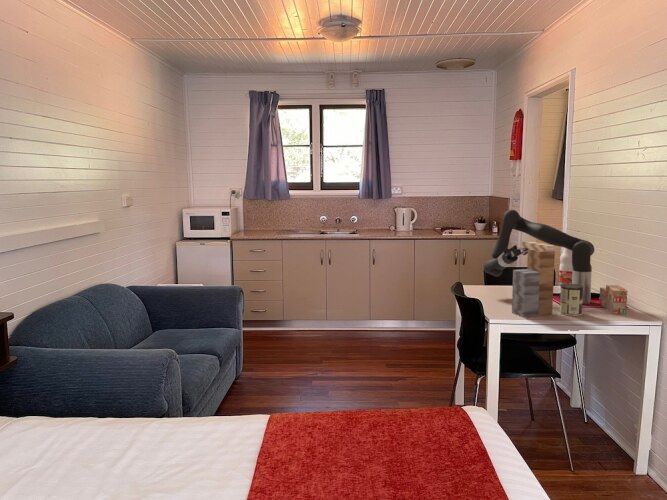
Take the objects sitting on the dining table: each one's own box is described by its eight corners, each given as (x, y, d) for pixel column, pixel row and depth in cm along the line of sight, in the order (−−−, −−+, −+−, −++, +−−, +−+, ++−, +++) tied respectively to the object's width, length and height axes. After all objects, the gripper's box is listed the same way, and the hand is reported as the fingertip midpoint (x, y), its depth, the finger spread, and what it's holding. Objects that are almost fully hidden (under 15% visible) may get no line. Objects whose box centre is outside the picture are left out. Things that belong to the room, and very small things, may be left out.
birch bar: (554, 251, 247) (554, 245, 247) (546, 252, 246) (547, 246, 246) (528, 246, 266) (528, 241, 266) (521, 247, 266) (521, 241, 265)
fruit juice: (578, 290, 309) (581, 243, 305) (569, 292, 304) (571, 245, 300) (564, 287, 317) (566, 242, 313) (555, 289, 312) (557, 243, 308)
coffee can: (571, 310, 263) (573, 283, 261) (586, 315, 253) (588, 286, 251) (554, 311, 260) (556, 284, 258) (569, 316, 250) (570, 288, 249)
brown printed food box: (599, 304, 275) (600, 281, 273) (611, 304, 274) (613, 281, 272) (612, 314, 254) (613, 289, 253) (626, 314, 253) (627, 290, 251)
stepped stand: (552, 315, 254) (554, 251, 250) (523, 317, 250) (526, 252, 246) (539, 310, 264) (541, 248, 259) (511, 312, 260) (513, 250, 255)
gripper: (494, 252, 281) (509, 240, 267) (517, 251, 285) (533, 239, 270) (497, 265, 279) (513, 253, 264) (520, 263, 282) (537, 252, 268)
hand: (523, 246), depth 267 cm, fingers open, 8 cm apart
